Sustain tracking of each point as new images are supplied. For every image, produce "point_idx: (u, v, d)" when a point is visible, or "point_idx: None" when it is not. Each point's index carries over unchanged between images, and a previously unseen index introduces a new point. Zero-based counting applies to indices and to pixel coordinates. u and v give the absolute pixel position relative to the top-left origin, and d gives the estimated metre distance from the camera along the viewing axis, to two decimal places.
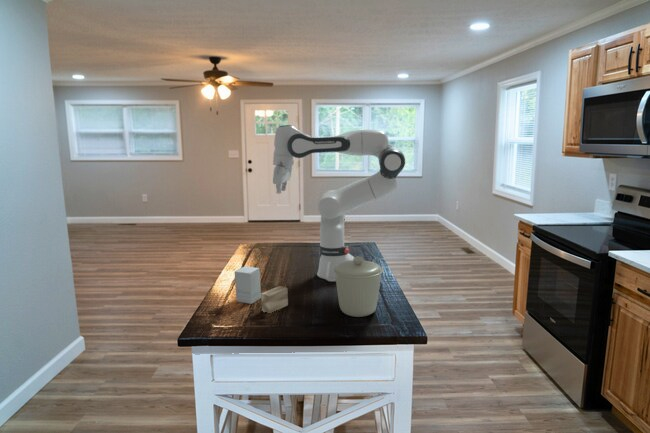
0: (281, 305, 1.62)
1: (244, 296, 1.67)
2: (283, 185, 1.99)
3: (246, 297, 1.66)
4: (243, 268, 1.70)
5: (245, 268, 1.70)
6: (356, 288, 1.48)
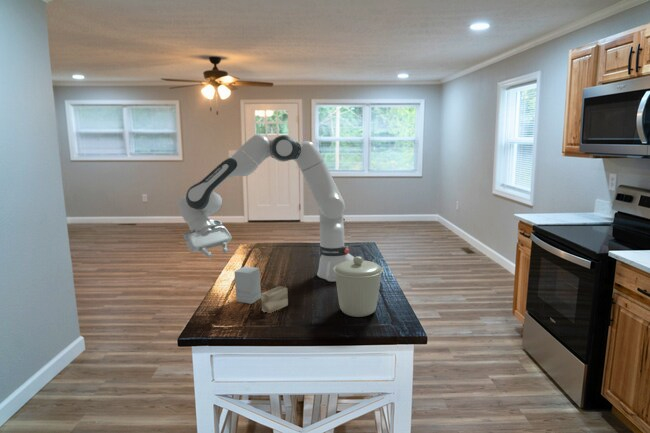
0: (281, 305, 1.62)
1: (244, 296, 1.67)
2: (224, 248, 1.82)
3: (246, 297, 1.66)
4: (243, 268, 1.70)
5: (245, 268, 1.70)
6: (356, 288, 1.48)
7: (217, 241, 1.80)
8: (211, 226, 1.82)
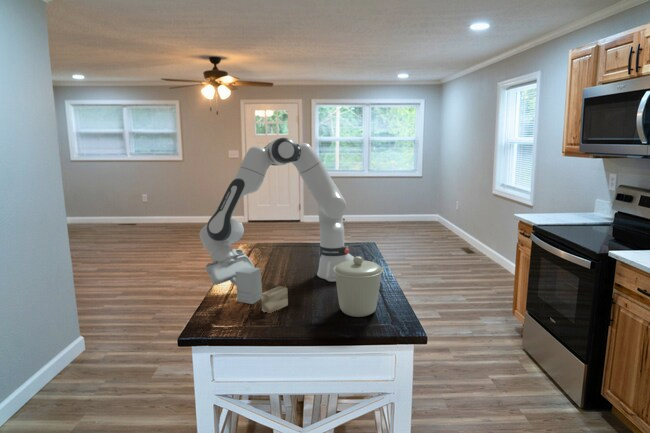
0: (281, 305, 1.62)
1: (245, 297, 1.66)
2: None
3: (247, 298, 1.66)
4: (244, 268, 1.70)
5: (246, 268, 1.69)
6: (356, 288, 1.48)
7: None
8: (234, 256, 1.76)
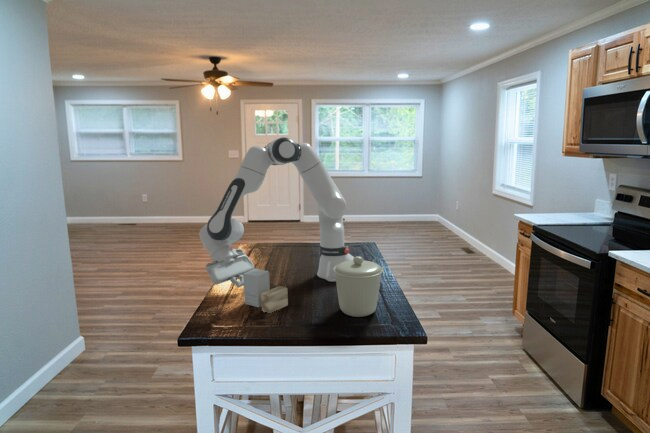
0: (281, 305, 1.62)
1: (252, 299, 1.64)
2: (240, 280, 1.73)
3: (253, 300, 1.63)
4: (252, 270, 1.67)
5: (254, 270, 1.66)
6: (356, 288, 1.48)
7: (240, 272, 1.74)
8: (234, 256, 1.75)
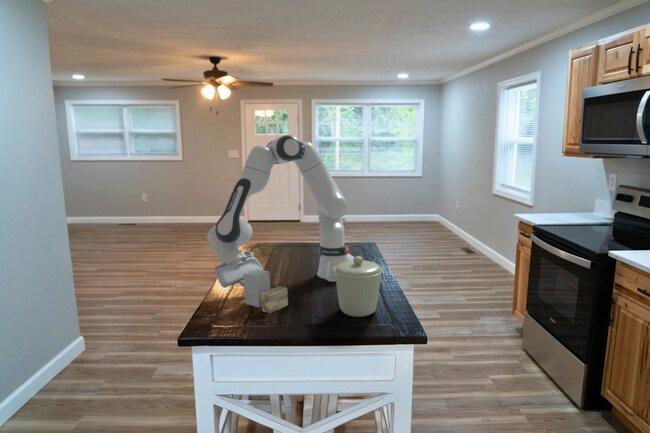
0: (281, 305, 1.62)
1: (252, 299, 1.63)
2: None
3: (254, 301, 1.63)
4: (253, 270, 1.67)
5: (255, 271, 1.66)
6: (356, 288, 1.48)
7: None
8: (242, 258, 1.73)
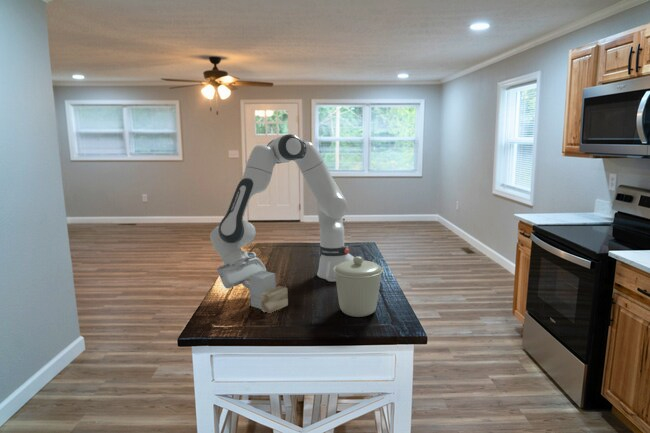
0: (281, 305, 1.62)
1: (257, 302, 1.61)
2: None
3: (259, 303, 1.61)
4: (259, 272, 1.65)
5: (261, 272, 1.64)
6: (356, 288, 1.48)
7: None
8: (245, 259, 1.71)
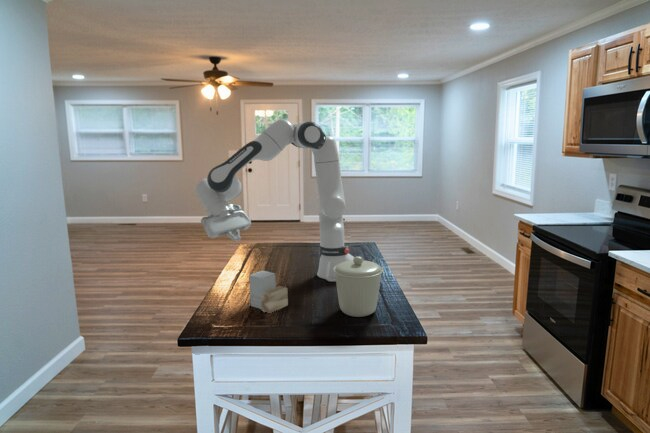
0: (281, 305, 1.62)
1: (257, 302, 1.61)
2: (236, 235, 1.71)
3: (259, 303, 1.61)
4: (259, 272, 1.65)
5: (261, 272, 1.64)
6: (356, 288, 1.48)
7: (236, 226, 1.72)
8: (230, 211, 1.73)
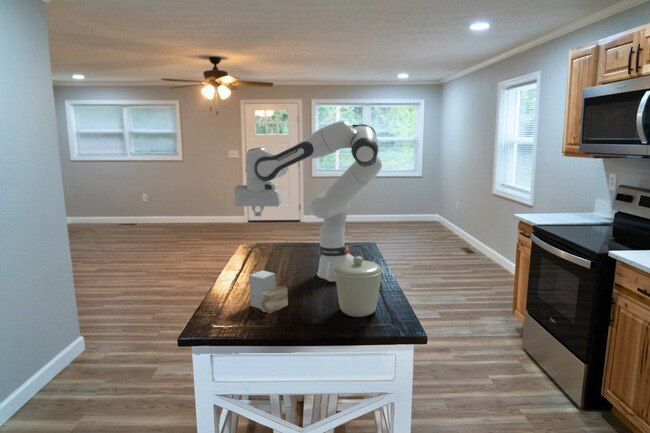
0: (281, 305, 1.62)
1: (257, 302, 1.61)
2: None
3: (259, 303, 1.61)
4: (259, 272, 1.65)
5: (261, 272, 1.64)
6: (356, 288, 1.48)
7: (260, 205, 1.87)
8: (260, 189, 1.84)
